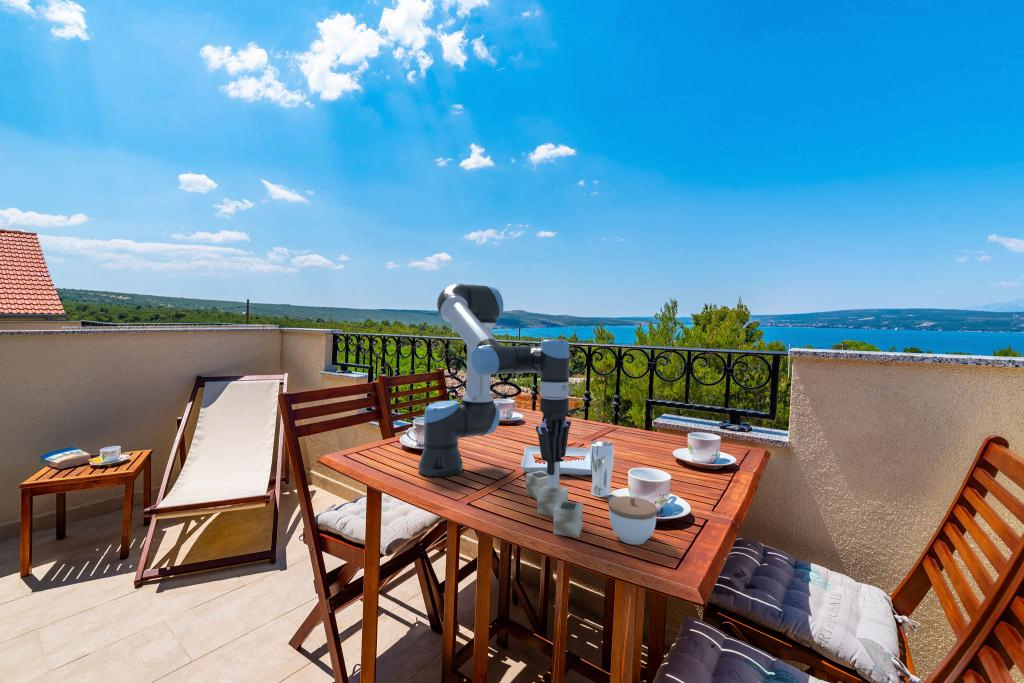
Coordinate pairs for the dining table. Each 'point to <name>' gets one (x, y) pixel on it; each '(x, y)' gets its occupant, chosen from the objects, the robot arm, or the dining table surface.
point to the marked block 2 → (567, 518)
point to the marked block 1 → (535, 482)
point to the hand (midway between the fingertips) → (553, 485)
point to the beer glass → (601, 467)
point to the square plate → (565, 467)
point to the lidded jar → (632, 519)
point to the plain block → (550, 499)
